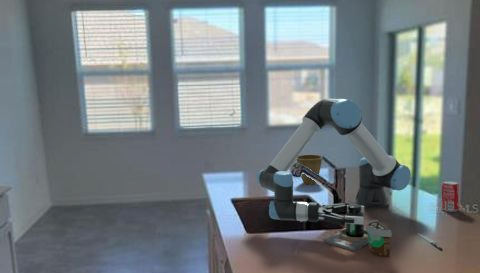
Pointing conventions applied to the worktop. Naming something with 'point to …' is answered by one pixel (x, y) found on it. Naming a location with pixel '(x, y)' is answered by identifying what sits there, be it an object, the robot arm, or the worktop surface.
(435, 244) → the chef's knife
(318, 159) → the plant pot
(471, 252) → the worktop surface
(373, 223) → the food container
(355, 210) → the supplement bottle
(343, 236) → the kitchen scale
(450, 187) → the soda can
